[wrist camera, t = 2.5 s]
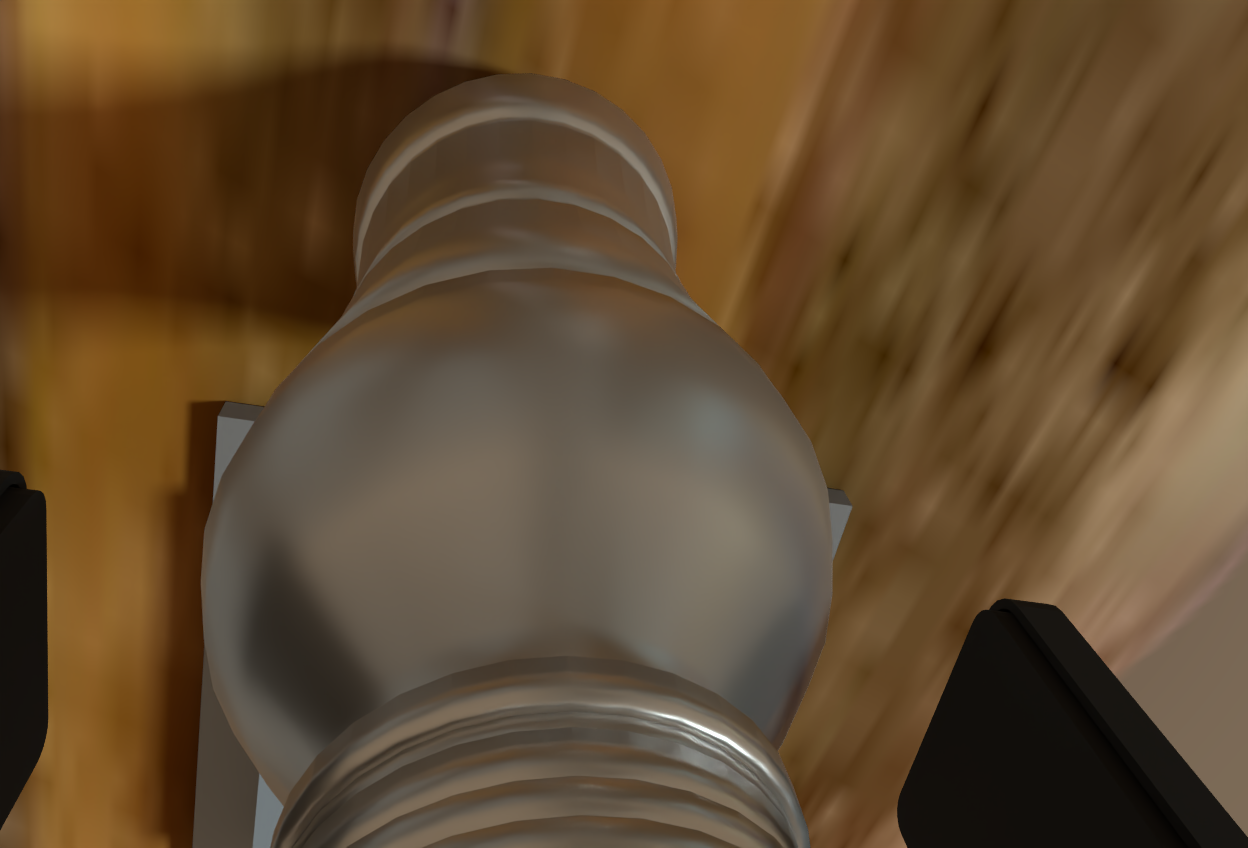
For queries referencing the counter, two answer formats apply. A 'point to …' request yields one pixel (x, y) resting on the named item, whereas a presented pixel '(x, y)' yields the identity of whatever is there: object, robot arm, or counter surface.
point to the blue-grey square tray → (226, 777)
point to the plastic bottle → (520, 517)
